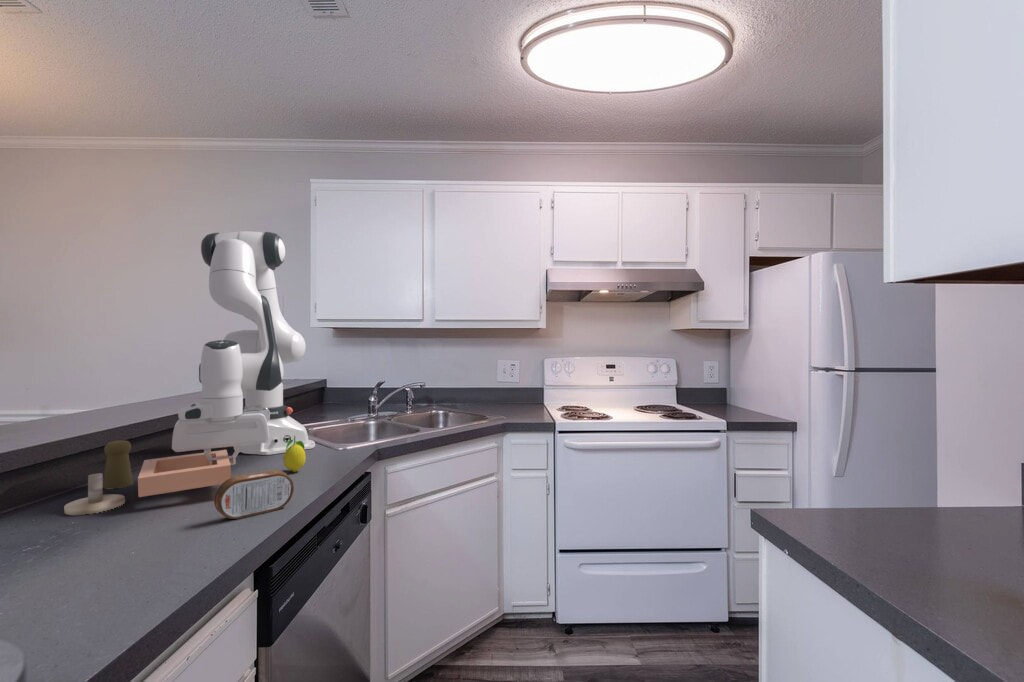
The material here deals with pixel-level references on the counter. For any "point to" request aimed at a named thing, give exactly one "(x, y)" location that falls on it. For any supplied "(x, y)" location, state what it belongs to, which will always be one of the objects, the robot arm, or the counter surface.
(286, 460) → the lemon
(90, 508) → the mushroom
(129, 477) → the cork
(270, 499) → the tin
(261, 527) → the counter surface
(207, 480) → the pink square frame
